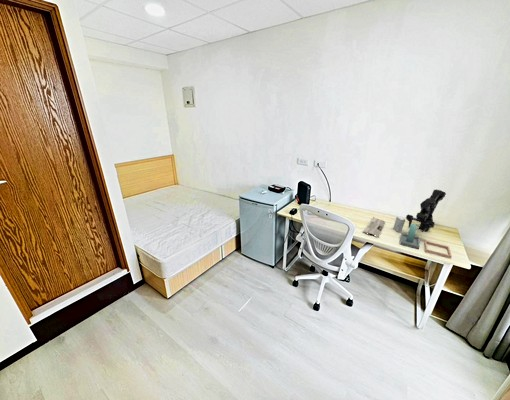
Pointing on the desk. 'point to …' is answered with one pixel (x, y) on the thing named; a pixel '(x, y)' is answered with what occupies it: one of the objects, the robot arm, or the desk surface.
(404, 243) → the tray
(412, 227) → the canister
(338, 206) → the desk surface
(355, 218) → the desk surface
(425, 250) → the pink square frame
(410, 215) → the robot arm
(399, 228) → the skincare box
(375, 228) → the newspaper
